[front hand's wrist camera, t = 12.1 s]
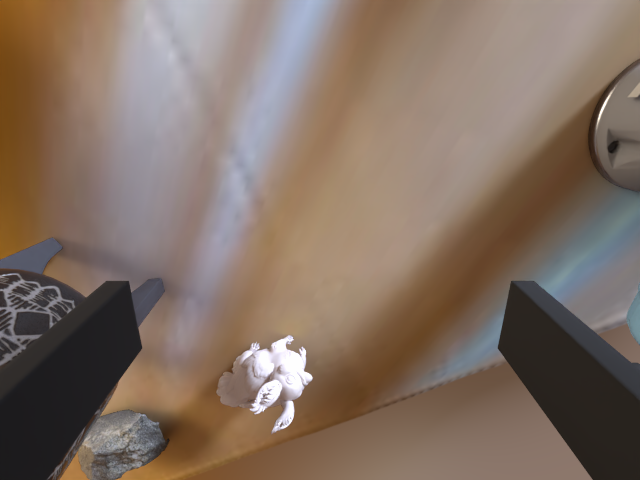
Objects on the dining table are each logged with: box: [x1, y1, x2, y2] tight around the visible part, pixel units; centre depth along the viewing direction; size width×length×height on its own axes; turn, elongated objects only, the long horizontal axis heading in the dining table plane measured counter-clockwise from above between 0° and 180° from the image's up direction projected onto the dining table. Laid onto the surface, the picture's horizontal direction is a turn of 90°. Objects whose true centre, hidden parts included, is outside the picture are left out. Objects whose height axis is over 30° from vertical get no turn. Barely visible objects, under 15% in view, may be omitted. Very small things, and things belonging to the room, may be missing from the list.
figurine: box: [216, 335, 312, 434], centre depth 47 cm, size 8×15×13 cm, turn 126°
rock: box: [78, 410, 169, 480], centre depth 54 cm, size 13×9×6 cm, turn 111°
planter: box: [0, 238, 165, 480], centre depth 36 cm, size 20×20×26 cm
